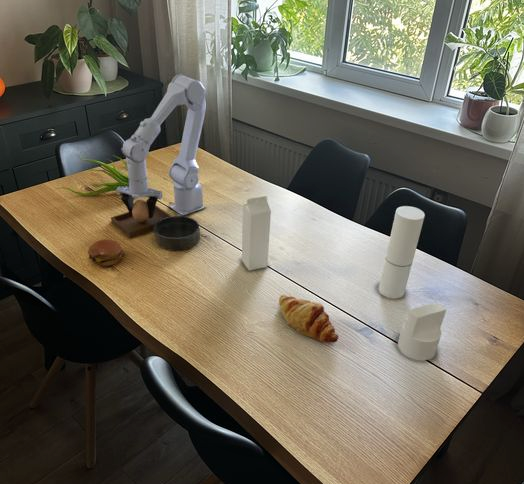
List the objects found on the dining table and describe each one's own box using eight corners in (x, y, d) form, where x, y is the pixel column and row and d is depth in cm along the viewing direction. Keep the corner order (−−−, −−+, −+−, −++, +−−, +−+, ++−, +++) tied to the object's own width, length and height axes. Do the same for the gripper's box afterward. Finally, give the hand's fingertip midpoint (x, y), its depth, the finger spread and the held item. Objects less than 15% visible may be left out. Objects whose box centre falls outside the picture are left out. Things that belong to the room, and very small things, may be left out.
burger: (119, 246, 153) (117, 233, 150) (126, 262, 146) (124, 249, 143) (86, 253, 149) (84, 240, 147) (91, 269, 142) (89, 256, 140)
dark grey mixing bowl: (183, 223, 166) (183, 211, 164) (208, 241, 158) (208, 229, 155) (146, 236, 158) (144, 224, 156) (170, 256, 150) (169, 243, 147)
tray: (154, 209, 174) (153, 203, 172) (173, 223, 166) (173, 217, 165) (111, 222, 165) (110, 217, 163) (129, 238, 157) (129, 232, 156)
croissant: (271, 316, 134) (261, 301, 128) (296, 290, 136) (287, 274, 130) (327, 360, 121) (319, 345, 115) (354, 331, 123) (347, 315, 117)
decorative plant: (83, 177, 192) (76, 140, 184) (150, 191, 184) (146, 153, 176) (51, 195, 178) (43, 156, 170) (122, 212, 171) (117, 172, 162)
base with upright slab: (413, 364, 117) (424, 326, 110) (390, 340, 124) (400, 302, 117) (443, 354, 120) (456, 317, 113) (419, 331, 127) (430, 294, 120)
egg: (150, 226, 163) (148, 204, 158) (132, 226, 162) (129, 204, 158) (152, 217, 168) (150, 195, 163) (134, 217, 167) (132, 195, 163)
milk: (267, 267, 148) (272, 200, 135) (248, 271, 145) (251, 204, 133) (259, 256, 152) (263, 191, 139) (241, 260, 150) (243, 194, 137)
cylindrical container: (405, 286, 142) (425, 209, 128) (402, 301, 137) (423, 221, 123) (380, 281, 144) (397, 204, 130) (376, 294, 139) (394, 216, 124)
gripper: (110, 180, 153) (116, 218, 161) (155, 185, 152) (159, 224, 160) (119, 171, 159) (124, 208, 167) (163, 176, 158) (166, 213, 166)
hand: (141, 215), depth 164 cm, fingers closed on egg, 6 cm apart
